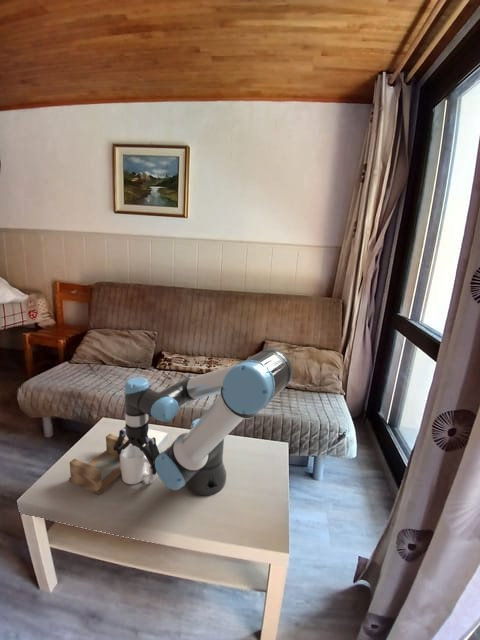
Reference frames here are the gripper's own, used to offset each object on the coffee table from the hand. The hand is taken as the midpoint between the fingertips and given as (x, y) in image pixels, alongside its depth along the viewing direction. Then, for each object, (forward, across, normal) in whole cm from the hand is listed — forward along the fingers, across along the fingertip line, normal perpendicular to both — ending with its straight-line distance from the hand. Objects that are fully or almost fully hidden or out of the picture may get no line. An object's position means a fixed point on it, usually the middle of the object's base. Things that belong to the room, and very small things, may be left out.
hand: (137, 473), depth 111 cm
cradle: (+1, +13, +3) cm, 13 cm away
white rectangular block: (+1, +8, -16) cm, 18 cm away
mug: (+2, 0, 0) cm, 2 cm away
